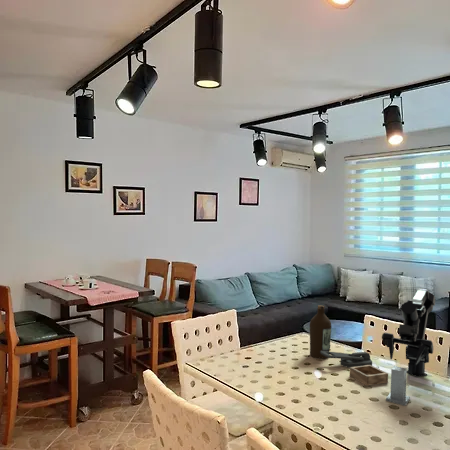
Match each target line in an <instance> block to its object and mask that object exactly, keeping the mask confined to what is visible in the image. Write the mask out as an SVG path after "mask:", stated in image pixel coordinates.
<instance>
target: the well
mask: <svg viewBox="0 0 450 450" xmlns="http://www.w3.org/2000/svg"><path fill="white" fill-rule="evenodd" d="M349 377H351V378H352V379H354V380H356V381H357V382H360V383H361V384H363V385H365V386H373V385H380V384H386V383H389V373H388V372H387V371H384V370H381V369H379V368H377V367H375V366H373V364H372V365H365V366H357V367H350V368H349Z"/></svg>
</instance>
